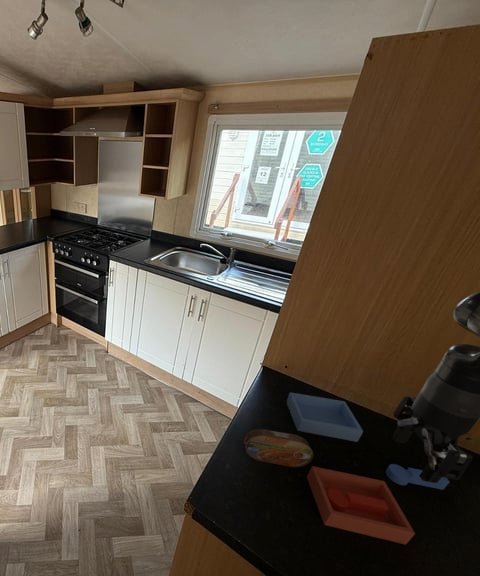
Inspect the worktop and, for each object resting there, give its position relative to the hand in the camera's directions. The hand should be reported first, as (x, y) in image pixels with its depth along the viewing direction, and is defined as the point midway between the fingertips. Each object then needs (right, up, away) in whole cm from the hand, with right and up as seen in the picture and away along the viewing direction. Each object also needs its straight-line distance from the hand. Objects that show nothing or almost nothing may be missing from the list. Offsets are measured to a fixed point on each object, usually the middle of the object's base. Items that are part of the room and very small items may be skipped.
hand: (411, 459), depth 63 cm
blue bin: (+1, -4, +27) cm, 27 cm away
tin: (-19, -9, +17) cm, 26 cm away
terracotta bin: (-7, -14, +6) cm, 17 cm away
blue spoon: (+12, -11, +12) cm, 20 cm away
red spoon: (-7, -13, +6) cm, 16 cm away
